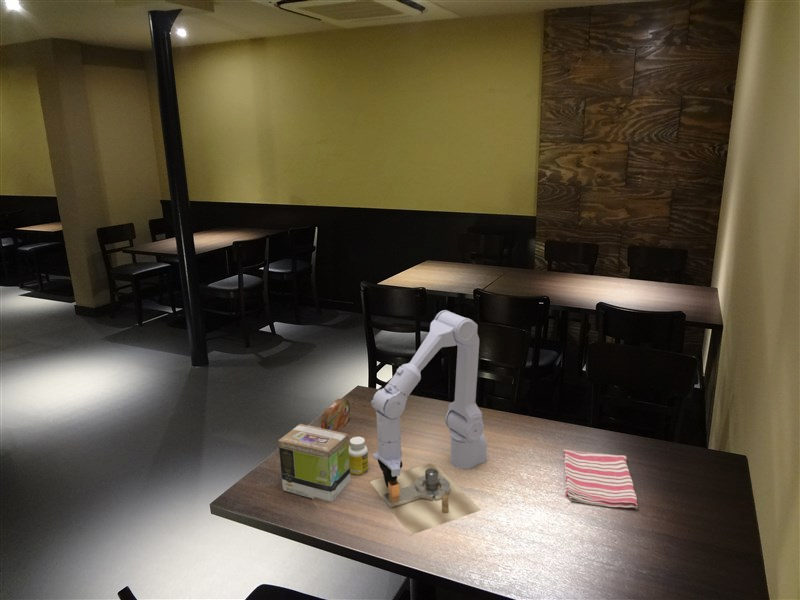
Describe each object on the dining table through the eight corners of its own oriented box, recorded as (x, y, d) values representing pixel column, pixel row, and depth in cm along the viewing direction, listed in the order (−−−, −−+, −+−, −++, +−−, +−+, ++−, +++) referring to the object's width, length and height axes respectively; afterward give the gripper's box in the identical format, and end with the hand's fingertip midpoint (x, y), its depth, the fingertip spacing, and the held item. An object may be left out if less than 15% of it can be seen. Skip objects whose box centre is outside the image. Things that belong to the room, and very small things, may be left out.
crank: (438, 474, 146) (438, 457, 145) (456, 492, 138) (456, 475, 137) (379, 492, 139) (378, 475, 138) (394, 513, 131) (394, 495, 130)
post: (434, 484, 143) (434, 467, 141) (440, 491, 140) (440, 473, 138) (423, 487, 141) (422, 470, 140) (429, 494, 138) (429, 477, 137)
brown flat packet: (329, 441, 166) (327, 416, 163) (320, 440, 167) (318, 414, 164) (351, 418, 179) (350, 394, 177) (342, 417, 180) (341, 393, 178)
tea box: (351, 483, 145) (349, 432, 141) (331, 505, 137) (328, 452, 133) (303, 470, 152) (300, 421, 147) (281, 491, 143) (276, 439, 139)
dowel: (446, 508, 133) (446, 493, 132) (449, 512, 132) (449, 497, 131) (440, 510, 133) (440, 495, 131) (443, 514, 131) (444, 499, 130)
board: (433, 465, 153) (433, 462, 152) (481, 513, 133) (481, 509, 132) (369, 484, 145) (369, 481, 144) (410, 538, 125) (410, 535, 124)
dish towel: (564, 504, 136) (565, 491, 135) (562, 453, 158) (562, 442, 157) (639, 514, 132) (640, 501, 131) (626, 460, 154) (627, 449, 153)
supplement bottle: (365, 479, 147) (364, 446, 144) (345, 477, 148) (344, 444, 145) (370, 468, 152) (369, 435, 149) (351, 466, 153) (350, 434, 150)
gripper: (367, 424, 141) (369, 471, 145) (378, 454, 128) (380, 505, 132) (394, 421, 143) (395, 467, 147) (408, 450, 129) (409, 500, 133)
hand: (390, 485), depth 139 cm, fingers closed
